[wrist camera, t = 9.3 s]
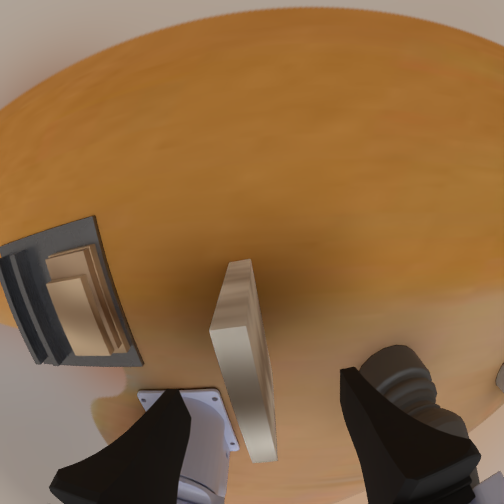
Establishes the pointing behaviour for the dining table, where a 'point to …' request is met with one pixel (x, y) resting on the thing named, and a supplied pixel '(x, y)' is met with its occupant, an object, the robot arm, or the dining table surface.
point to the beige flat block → (245, 360)
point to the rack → (39, 301)
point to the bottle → (500, 378)
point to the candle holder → (412, 390)
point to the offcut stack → (85, 303)
